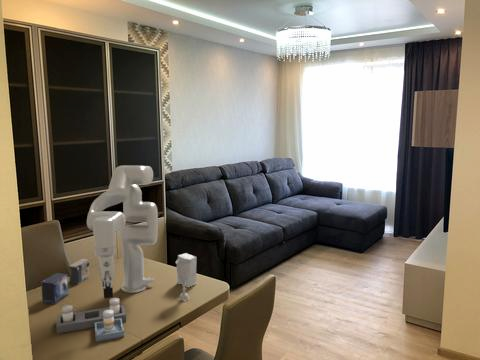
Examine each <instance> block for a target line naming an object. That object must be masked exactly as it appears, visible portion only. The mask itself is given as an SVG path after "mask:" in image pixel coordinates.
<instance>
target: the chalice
mask: <svg viewBox="0 0 480 360" xmlns="http://www.w3.org/2000/svg"><path fill="white" fill-rule="evenodd" d="M175 264H176V275H177V274H178V276H179V278H180V280H181V281H183V285H181V286H182V289H181V290H182V292H181V293H180V295H179V297H178V300H179V299H180V300H187V299H189V298H190V296H189V294H188V293H187V292H186V290H187V288H186V287H185V281H187V279H188V277H189V275H190V264H191V260H189V259H179V260H178V259H176V261H175ZM180 300H179V301H180ZM189 300H190V299H189Z"/></svg>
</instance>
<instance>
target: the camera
mask: <svg viewBox="0 0 480 360" xmlns="http://www.w3.org/2000/svg"><path fill="white" fill-rule="evenodd" d="M89 267H90V261H89V259H87V258H81V259H80V260H78V261H75V262H74V263H72V264H70V265H69V267H68V274H69V277H68V279H69V284H70V285H72V286H78V285H80V284H81V283H83V281H85V280H87V279H88V278H89V277H90V271H89V270H90V269H89Z"/></svg>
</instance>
